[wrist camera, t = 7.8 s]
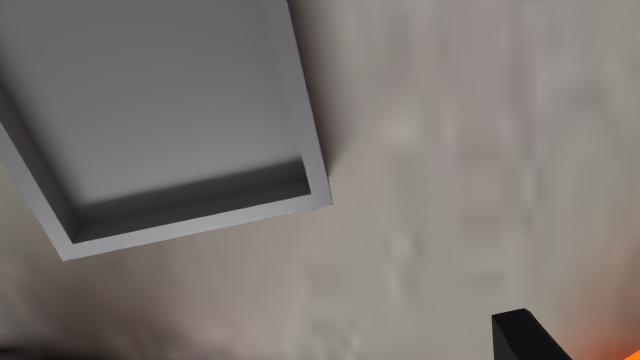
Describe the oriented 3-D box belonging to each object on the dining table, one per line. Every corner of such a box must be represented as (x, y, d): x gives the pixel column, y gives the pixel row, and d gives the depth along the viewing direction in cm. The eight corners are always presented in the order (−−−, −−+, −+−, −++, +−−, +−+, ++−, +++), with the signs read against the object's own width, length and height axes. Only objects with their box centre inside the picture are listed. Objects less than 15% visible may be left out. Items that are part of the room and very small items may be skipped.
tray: (253, -152, 14) (252, -148, 13) (328, 179, 20) (333, 204, 18) (-99, -70, 14) (-133, -58, 13) (75, 232, 20) (63, 261, 19)
